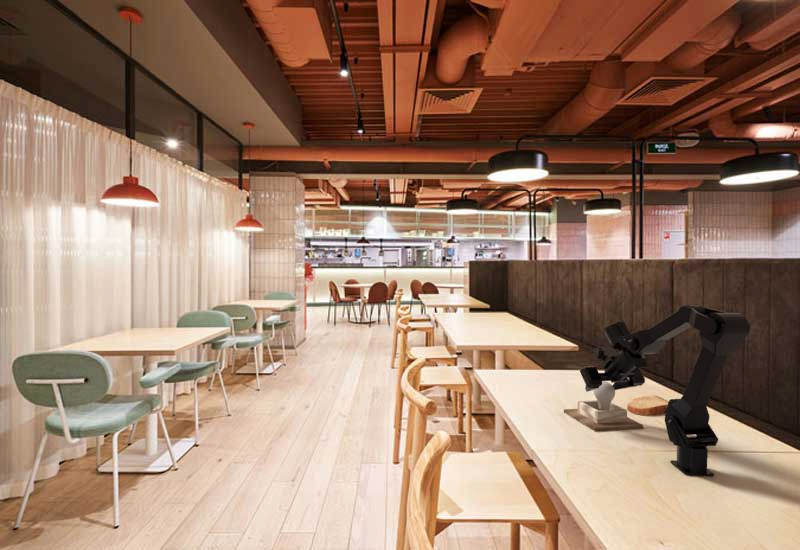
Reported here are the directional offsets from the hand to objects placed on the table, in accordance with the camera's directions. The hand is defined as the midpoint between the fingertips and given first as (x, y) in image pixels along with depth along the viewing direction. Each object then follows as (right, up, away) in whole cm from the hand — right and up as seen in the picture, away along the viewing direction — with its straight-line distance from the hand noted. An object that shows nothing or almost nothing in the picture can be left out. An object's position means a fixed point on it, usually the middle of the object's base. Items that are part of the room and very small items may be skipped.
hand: (599, 389), depth 135 cm
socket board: (0, -9, -1) cm, 9 cm away
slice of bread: (+23, -10, +10) cm, 27 cm away
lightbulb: (+1, -8, -1) cm, 9 cm away
